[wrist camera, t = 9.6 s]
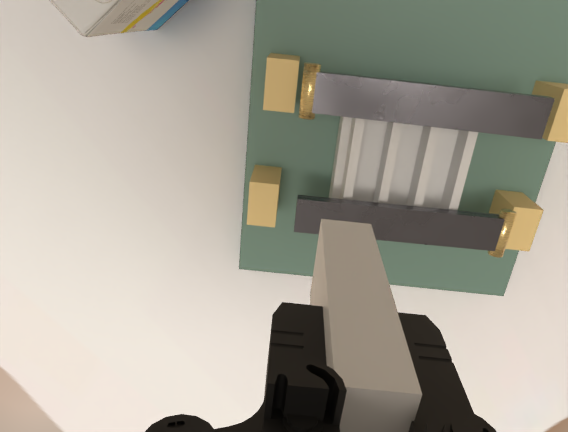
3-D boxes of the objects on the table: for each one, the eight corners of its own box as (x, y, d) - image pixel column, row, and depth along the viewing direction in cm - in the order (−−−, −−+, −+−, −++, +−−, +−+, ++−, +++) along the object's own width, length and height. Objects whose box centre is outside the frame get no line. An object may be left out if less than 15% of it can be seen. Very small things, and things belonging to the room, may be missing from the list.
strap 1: (304, 62, 28) (303, 63, 27) (550, 89, 27) (558, 91, 26) (299, 115, 29) (298, 118, 28) (533, 142, 29) (540, 146, 28)
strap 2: (298, 188, 31) (298, 194, 30) (512, 209, 31) (519, 215, 30) (293, 231, 32) (293, 237, 31) (499, 251, 33) (505, 258, 32)
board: (261, -46, 30) (253, -56, 26) (597, -11, 30) (649, -15, 26) (240, 261, 40) (232, 294, 35) (497, 288, 40) (523, 324, 35)
